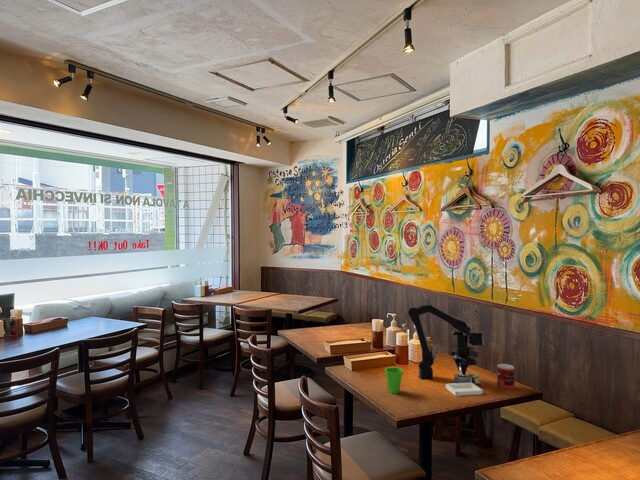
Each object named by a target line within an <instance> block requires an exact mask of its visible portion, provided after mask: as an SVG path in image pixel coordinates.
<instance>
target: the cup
mask: <svg viewBox="0 0 640 480" xmlns="http://www.w3.org/2000/svg"><path fill="white" fill-rule="evenodd" d="M384 371H385V375H386V382H387V387H388V392H389V393H390V394H395V395H396V394H399V393H400V391H401V390H400V389H401V385H402V384H401V383H402V377H403V372H404V369H403V368H401V367H397V366H388V367H385V369H384Z"/></svg>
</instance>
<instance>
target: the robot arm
mask: <svg viewBox="0 0 640 480" xmlns="http://www.w3.org/2000/svg"><path fill="white" fill-rule="evenodd" d="M407 313H408V317H409V318H410V320H411V322H412V323H413V325H414V327H415V331H416V334H417V338H418V340H419V344H420V347H421V357H422V358H421V359H422V360H421V361H420V362H419V363H418V376H417V377H418V378H419V379H420V380H422V381H427V380H429V381H430V380H434V370H433V367H432V366H433V365H434V363H435V362H436V358H437V355H436V353H435V349H432V348H431V347H430V343H429V341H428V338H427V334H426V331H425V328H424V324H423V315H424V314H427V313H430V314H432V315H434V316H436V317H437V318H439V319H441V320H443V321H445V322H446V323H448V324H450V325H451V326H452V327H453V328H454V329H455V330H454V332H452V336H456V338H455V340H456V341H455V342H456V344H454V347H455V348H456V349H450V350H449V351H448V355H449V356H450V357H453V358H452V360H453V362H454V363H455V365H456V368H457V370H458V371H459V365H460V368H461V371H462V374H463V375H465V374H467V370H468V367H469V366H476V365H477V360H476V359H478V357H479V354H480V352H478V350H475V349H474V348H473V347H472V346H477V347H483V346H484V335H483V334H484V332H481V331H480V332H479V331H478V332H477V331H473V330H472V329H471V327H470V326H469V323H468V320H466V319H464V318H461V317H458V316H454V315H452V314H450V313H448V312H446V311H444V310H443V309H441V308H439V307H437V306H435V305H434V304H432V303H428V304H424V305H420V306H419V305H414V306H412V307H410V308H409V310H408V312H407ZM469 344H470V345H471V346H470V345H469ZM475 358H476V359H475Z"/></svg>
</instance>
